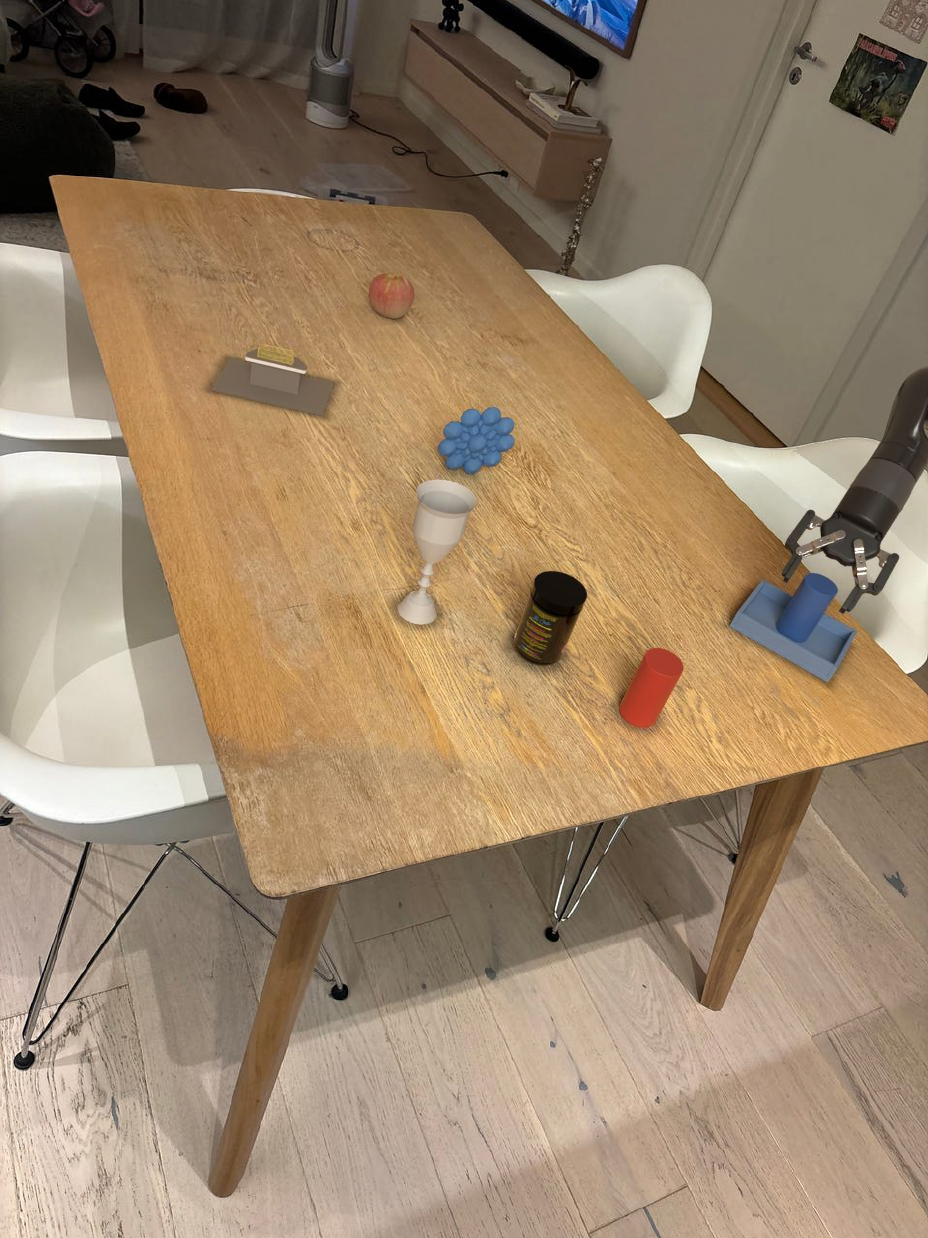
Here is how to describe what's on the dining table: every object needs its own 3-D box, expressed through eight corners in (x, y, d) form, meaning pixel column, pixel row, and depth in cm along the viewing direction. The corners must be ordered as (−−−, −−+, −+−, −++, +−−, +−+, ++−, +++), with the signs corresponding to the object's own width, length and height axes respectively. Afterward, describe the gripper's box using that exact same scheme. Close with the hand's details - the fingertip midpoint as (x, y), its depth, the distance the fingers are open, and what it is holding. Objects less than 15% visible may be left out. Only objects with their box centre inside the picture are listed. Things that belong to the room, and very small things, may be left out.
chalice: (397, 630, 114) (425, 514, 103) (383, 594, 119) (409, 479, 107) (451, 627, 117) (485, 513, 105) (436, 592, 122) (466, 479, 110)
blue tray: (848, 645, 134) (857, 631, 132) (827, 682, 126) (837, 668, 125) (754, 592, 139) (762, 578, 137) (729, 626, 131) (737, 611, 129)
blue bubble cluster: (500, 463, 150) (519, 398, 143) (505, 486, 145) (525, 420, 138) (430, 453, 148) (446, 386, 140) (433, 476, 143) (450, 408, 135)
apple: (397, 328, 180) (405, 289, 174) (357, 312, 181) (364, 273, 176) (416, 316, 186) (424, 277, 181) (378, 300, 188) (384, 261, 182)
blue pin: (811, 632, 133) (842, 585, 127) (802, 647, 130) (832, 600, 124) (781, 615, 135) (810, 568, 129) (771, 630, 131) (800, 582, 125)
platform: (229, 358, 156) (232, 321, 152) (334, 382, 158) (339, 347, 154) (211, 390, 147) (213, 352, 142) (322, 416, 149) (327, 379, 144)
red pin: (662, 713, 114) (690, 662, 108) (646, 734, 111) (674, 682, 105) (629, 693, 115) (654, 641, 110) (612, 712, 112) (638, 660, 106)
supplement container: (559, 675, 115) (585, 613, 108) (507, 659, 115) (530, 596, 108) (564, 641, 120) (589, 580, 114) (515, 626, 120) (537, 564, 114)
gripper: (831, 466, 127) (769, 564, 126) (930, 515, 123) (866, 616, 122) (823, 484, 134) (764, 577, 133) (916, 531, 130) (856, 627, 129)
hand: (813, 596), depth 128 cm, fingers open, 8 cm apart
